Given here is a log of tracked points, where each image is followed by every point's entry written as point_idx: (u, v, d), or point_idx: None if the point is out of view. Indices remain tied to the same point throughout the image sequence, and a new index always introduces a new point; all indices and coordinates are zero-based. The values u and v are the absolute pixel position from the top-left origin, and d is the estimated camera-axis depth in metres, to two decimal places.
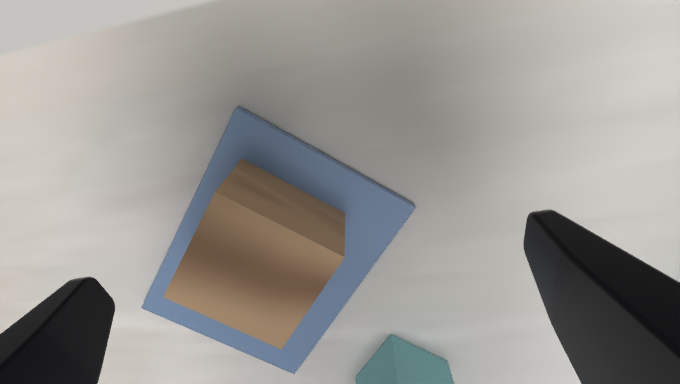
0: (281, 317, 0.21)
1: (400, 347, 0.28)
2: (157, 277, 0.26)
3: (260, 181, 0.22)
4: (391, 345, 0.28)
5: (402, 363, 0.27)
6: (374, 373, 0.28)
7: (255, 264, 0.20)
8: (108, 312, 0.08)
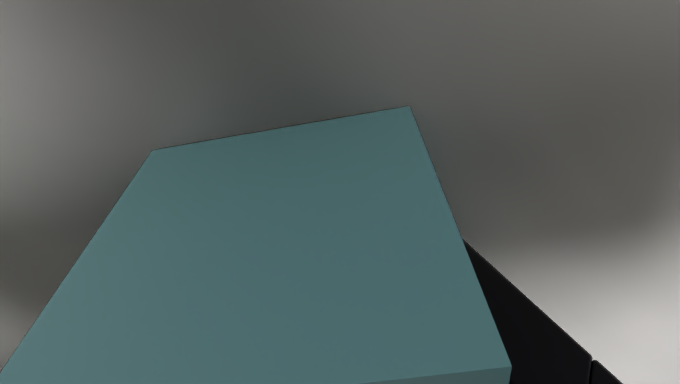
0: None
1: None
2: None
3: None
4: (410, 135, 0.06)
5: None
6: (269, 181, 0.06)
7: None
8: None
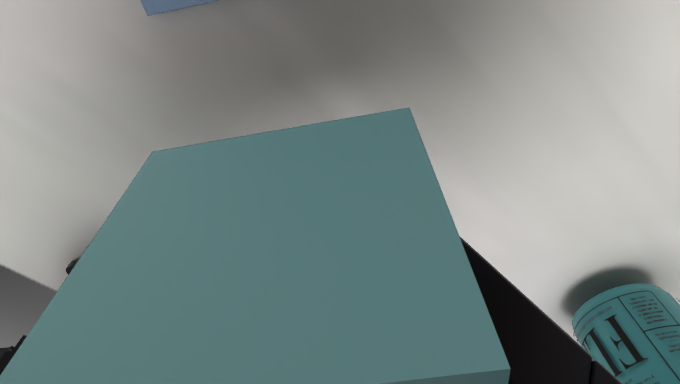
0: None
1: None
2: None
3: None
4: (410, 137, 0.06)
5: None
6: (270, 182, 0.06)
7: None
8: None
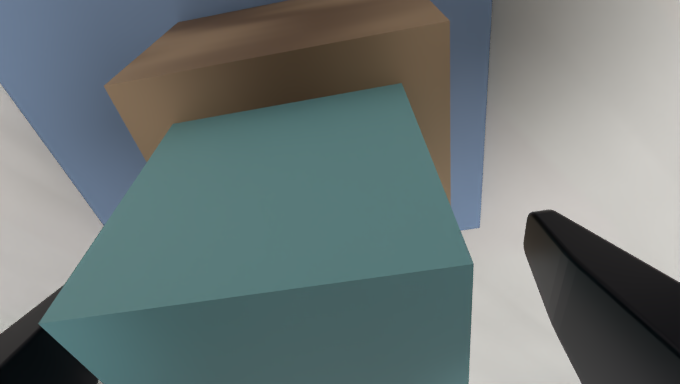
0: None
1: None
2: None
3: None
4: (401, 106, 0.07)
5: None
6: (279, 144, 0.07)
7: None
8: None
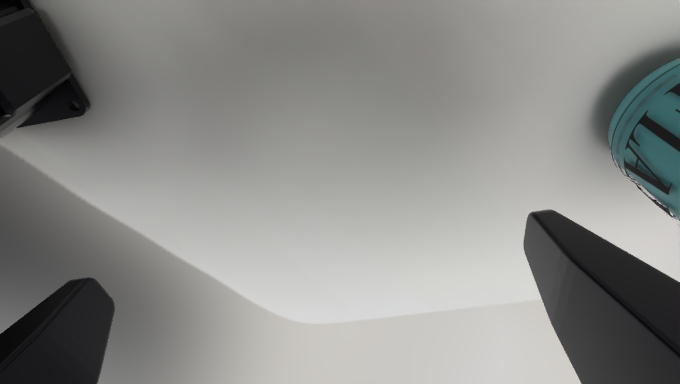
0: None
1: None
2: None
3: None
4: None
5: None
6: None
7: None
8: (108, 312, 0.08)
